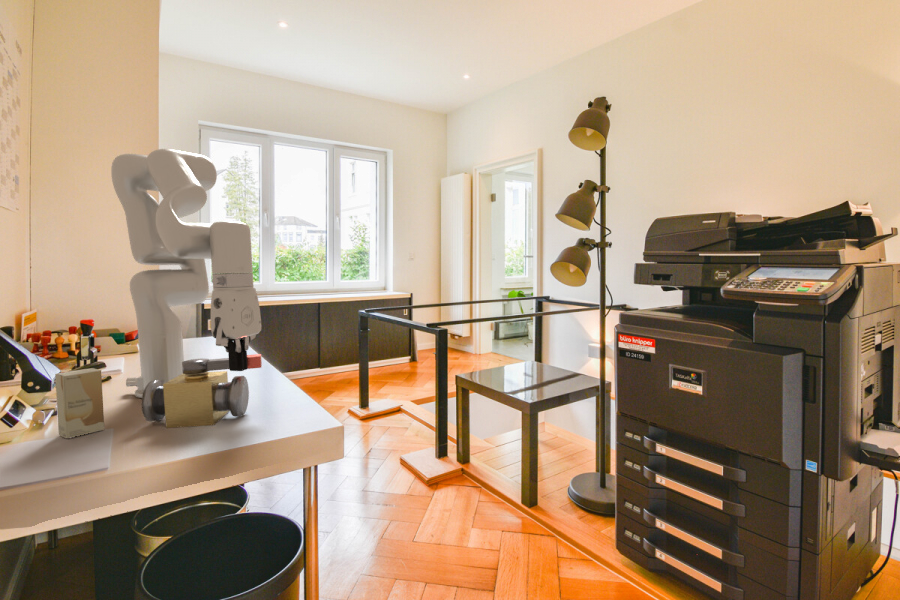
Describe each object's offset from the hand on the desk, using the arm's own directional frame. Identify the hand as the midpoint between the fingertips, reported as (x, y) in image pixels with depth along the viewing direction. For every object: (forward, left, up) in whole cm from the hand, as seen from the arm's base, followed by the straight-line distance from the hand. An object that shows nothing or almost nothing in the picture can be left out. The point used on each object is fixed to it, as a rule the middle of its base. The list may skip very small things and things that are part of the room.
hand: (238, 369), depth 93 cm
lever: (-4, +3, 0) cm, 5 cm away
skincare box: (-29, -2, -11) cm, 31 cm away
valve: (-9, +2, -11) cm, 14 cm away
